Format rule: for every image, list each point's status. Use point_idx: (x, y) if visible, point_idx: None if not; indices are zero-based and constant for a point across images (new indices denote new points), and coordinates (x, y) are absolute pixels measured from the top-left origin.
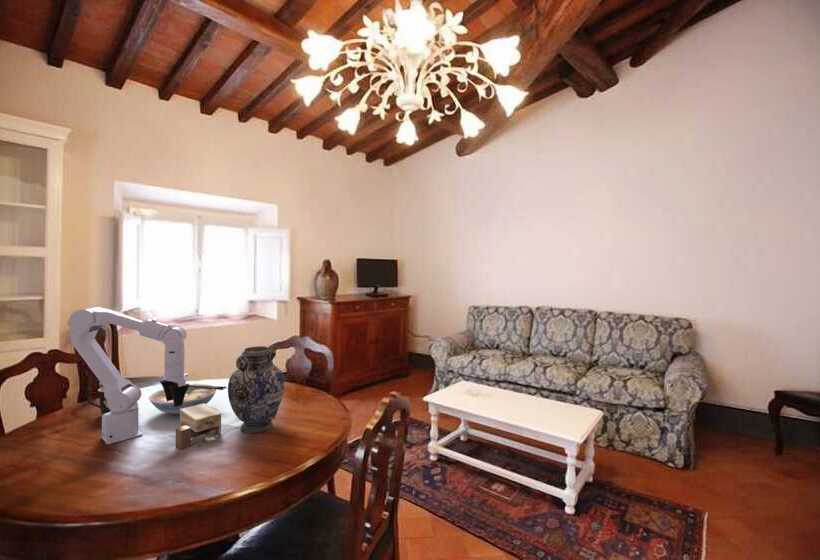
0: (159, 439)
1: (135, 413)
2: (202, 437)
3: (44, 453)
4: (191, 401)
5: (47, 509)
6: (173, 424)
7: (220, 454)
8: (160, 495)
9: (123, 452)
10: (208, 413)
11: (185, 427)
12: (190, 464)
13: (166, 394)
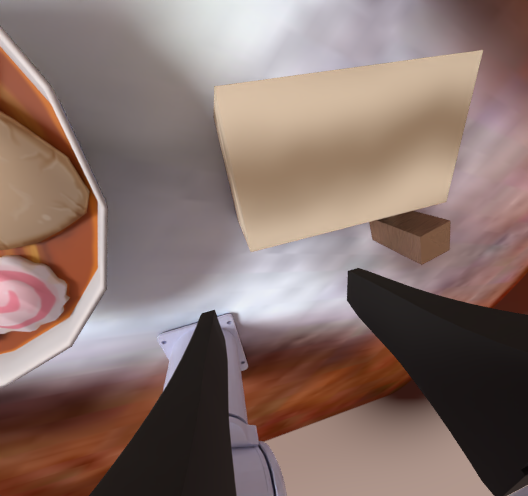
0: (287, 273)
1: (229, 396)
2: None
3: None
4: (89, 168)
5: None
6: (169, 236)
7: (493, 143)
8: (506, 265)
9: (311, 331)
10: (425, 125)
11: (436, 236)
12: (470, 217)
13: (226, 389)
